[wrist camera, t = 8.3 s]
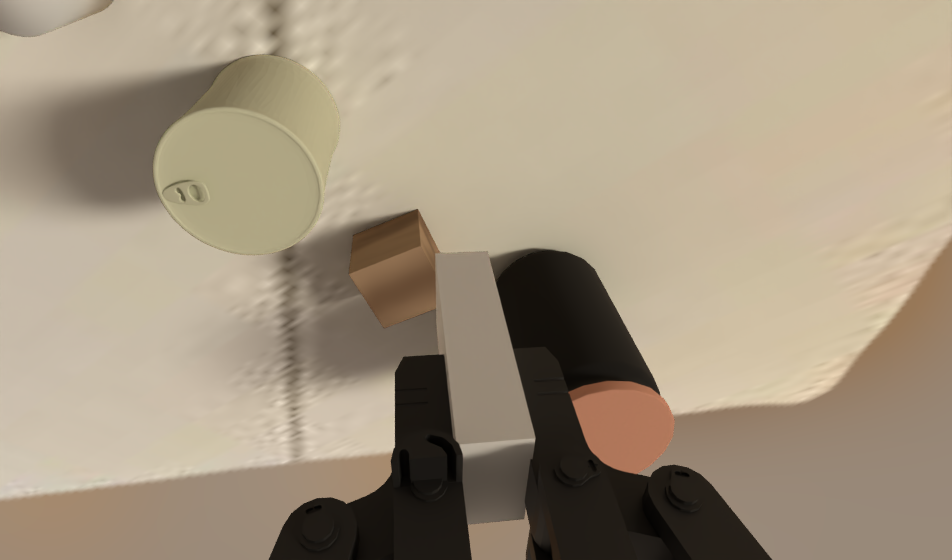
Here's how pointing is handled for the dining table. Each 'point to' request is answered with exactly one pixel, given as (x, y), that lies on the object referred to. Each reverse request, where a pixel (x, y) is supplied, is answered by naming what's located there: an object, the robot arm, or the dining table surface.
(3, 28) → the grey cylinder
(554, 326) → the coffee jar
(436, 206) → the dining table surface
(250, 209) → the can
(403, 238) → the walnut block
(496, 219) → the dining table surface
